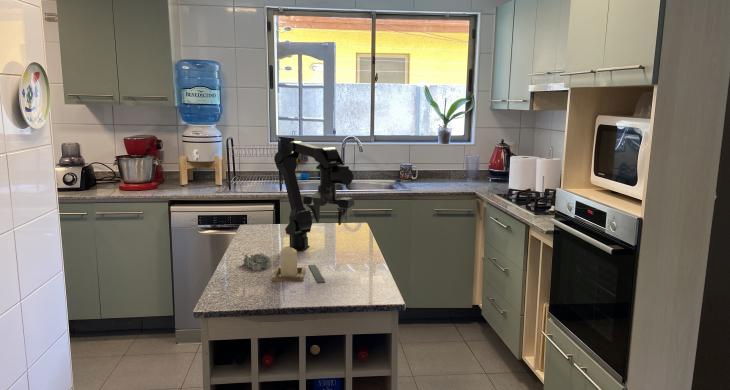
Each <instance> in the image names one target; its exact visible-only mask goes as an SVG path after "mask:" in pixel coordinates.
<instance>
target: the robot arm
mask: <svg viewBox="0 0 730 390" xmlns="http://www.w3.org/2000/svg"><path fill="white" fill-rule="evenodd" d="M301 155H303V156H307V157H310V158H313V160H314V161H315V162H317V163H318V165H317V166H315V168H316V170H319V173H320V174H319V178H320V179H319V181H320V183H319V185H318V186H317V190H316V192H314V194H308V195H305V196H303V198H302V194H301V190H300V186H299V183H298V177H297V174H296V170H297V167H298V159H299V158H300V157H301ZM273 161H274V163H275V166H276V169H277V170H278V171H279V172H280V174H281V175H282V176H283V181H284V185H285V189H286V193H287V196H288V197H287V198H288V202H289V205H290V213H289V217H288V221H289V223H288V224H287V226H286V227H285V228H284V230H285V234H286V235H288V236H289V247H291V248H293V249H295V250H296V251H297V252H298V251H301V252H302V251H304V250H305V249H308V248H310V245H309V237H308V233H311V229H312V226H313V220H314V221H316V223H317V224H319V222H320V216H321V215H320V214H321V207H323V206H326V205H327V204H331V205H337V206H338V207H337V208H336V209H337V212H338V213H337V214H338V216H337V217H338V218H337V222H338V226H341V225H342V222H343V220H344V218H345V215H346V213H347V212H348V210H349V209H351V208H352V207H353V206H355V200H354V198H353V197H348V196H347V197H346V196H343V197H341V198H338V194H337V188H338V185H343V186H349V185H351V183H352V182H353V180H354V174H353V171H352V170H351V169H350V166H349V165H345V164H344V161H343V159H342V157H341V155H340V154H339V152H338V149H337V148H336V147H334V146H333V147H332V146H327V147H325V146H323V147H321V146H316V145H313V144H311V143H305V142H303V141H300V140H293V141H290V142H288V143H287V145H285V146H284V147H282V148H280V149H279V150H278V151H277V152H276V154H275V155H274V157H273ZM304 205H305V206H306V207H308V208H309V209H306V208H305V206H304ZM311 212H312V213H311ZM312 214H313V217H314V219H313V218H312Z"/></svg>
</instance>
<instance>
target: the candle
mask: <svg viewBox="0 0 730 390" xmlns="http://www.w3.org/2000/svg"><path fill="white" fill-rule="evenodd" d="M279 256H280V257H279V260H280V261H279V262H280V264H279V265H280V267H281V273H280V276H298V272H297V267H298V250H295V249H293V248H291V247H290V246H287V245H286V246H283V248H282V249H281V250H280V252H279Z"/></svg>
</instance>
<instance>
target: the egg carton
mask: <svg viewBox="0 0 730 390" xmlns="http://www.w3.org/2000/svg"><path fill="white" fill-rule="evenodd" d="M242 256H243V257H244V258H243V259H242V262H243V266H247V267H248V268H251V269H252V270H254V271H261V270H262V269H270V267H271V266H272V265H271V260H272V257H270V256H268V255H265V254H264V253H263V252H261V253H260V252H259V253H255V254H251V255H250V256H248V254H244V253H242Z"/></svg>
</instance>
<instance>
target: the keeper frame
mask: <svg viewBox="0 0 730 390" xmlns="http://www.w3.org/2000/svg"><path fill="white" fill-rule="evenodd" d="M279 273H280V274H281V266H280V267H279V266H278V267H275V269H274V272H273V274H272V276H271V281H272V282H276V283H277V282H280V283H281V282H285V283H286V282H304V279H305V275H306V266H301V267H300V266H297V273H300V275H297V276H281V275H279ZM278 275H279V276H278Z"/></svg>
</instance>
